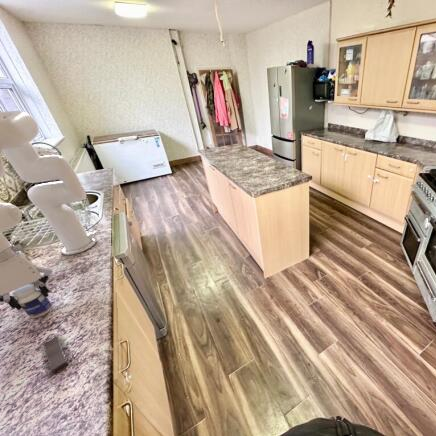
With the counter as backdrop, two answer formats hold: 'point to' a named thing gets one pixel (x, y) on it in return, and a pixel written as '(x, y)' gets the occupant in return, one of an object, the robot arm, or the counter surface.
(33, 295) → the pill bottle
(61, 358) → the dark grey flat bar
